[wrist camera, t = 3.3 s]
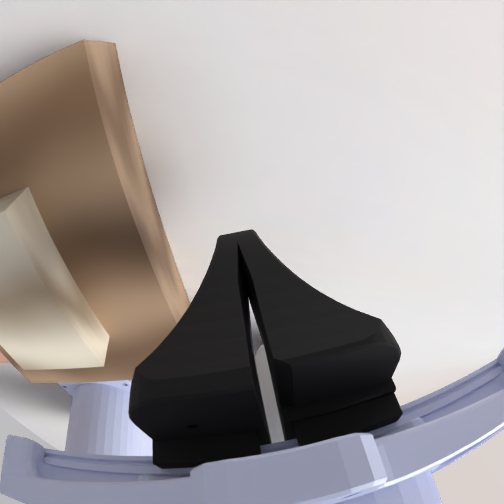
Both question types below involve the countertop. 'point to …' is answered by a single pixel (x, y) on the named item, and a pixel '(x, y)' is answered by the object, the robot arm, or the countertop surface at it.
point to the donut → (268, 396)
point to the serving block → (92, 200)
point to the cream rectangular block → (42, 296)
